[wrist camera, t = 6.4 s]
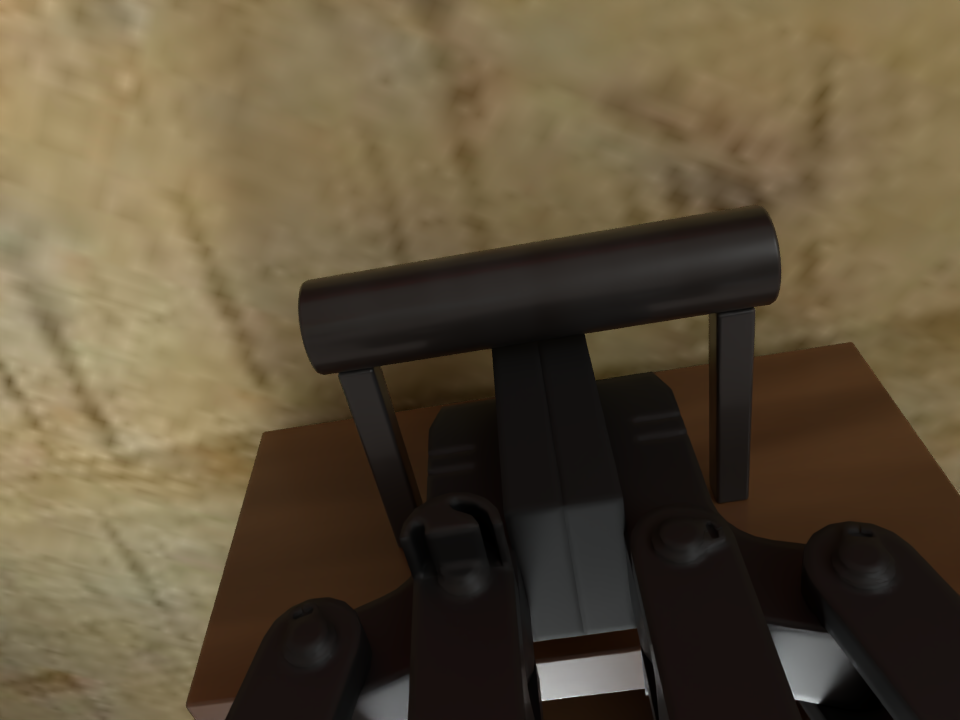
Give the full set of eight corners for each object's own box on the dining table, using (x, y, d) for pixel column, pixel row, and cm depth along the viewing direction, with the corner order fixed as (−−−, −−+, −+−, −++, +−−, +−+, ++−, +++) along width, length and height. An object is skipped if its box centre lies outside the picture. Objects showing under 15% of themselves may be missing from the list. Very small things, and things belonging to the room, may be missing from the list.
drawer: (163, 210, 16) (2, 456, 10) (885, 82, 14) (1156, 278, 9) (409, 761, 28) (399, 1006, 22) (805, 714, 27) (897, 959, 21)
